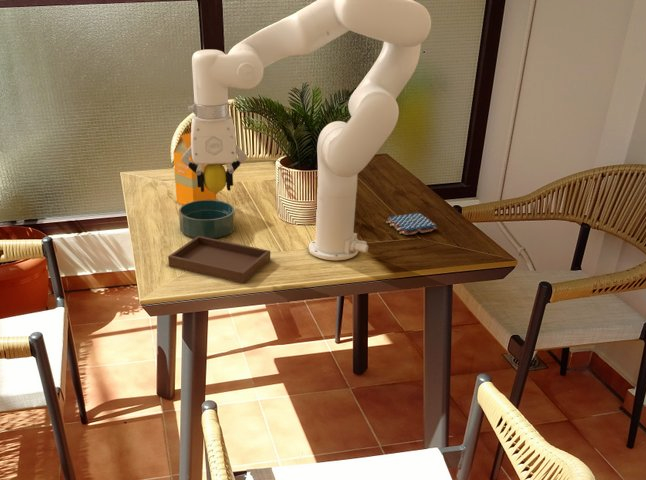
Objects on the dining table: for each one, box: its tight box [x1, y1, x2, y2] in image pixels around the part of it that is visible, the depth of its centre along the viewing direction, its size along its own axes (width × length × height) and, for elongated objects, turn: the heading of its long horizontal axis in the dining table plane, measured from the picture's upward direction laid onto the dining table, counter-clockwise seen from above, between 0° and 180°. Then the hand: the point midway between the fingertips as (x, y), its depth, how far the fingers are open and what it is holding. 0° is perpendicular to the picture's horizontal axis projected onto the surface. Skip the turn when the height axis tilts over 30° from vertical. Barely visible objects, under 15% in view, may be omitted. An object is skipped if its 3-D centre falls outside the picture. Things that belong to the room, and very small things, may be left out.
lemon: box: [203, 164, 227, 195], centre depth 171 cm, size 6×6×8 cm
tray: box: [167, 236, 271, 284], centre depth 178 cm, size 21×14×3 cm
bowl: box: [178, 199, 236, 239], centre depth 195 cm, size 15×15×6 cm
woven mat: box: [386, 212, 438, 236], centre depth 198 cm, size 10×11×2 cm
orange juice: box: [172, 132, 217, 206], centre depth 208 cm, size 8×9×20 cm
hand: (215, 188), depth 173 cm, fingers closed on lemon, 5 cm apart
